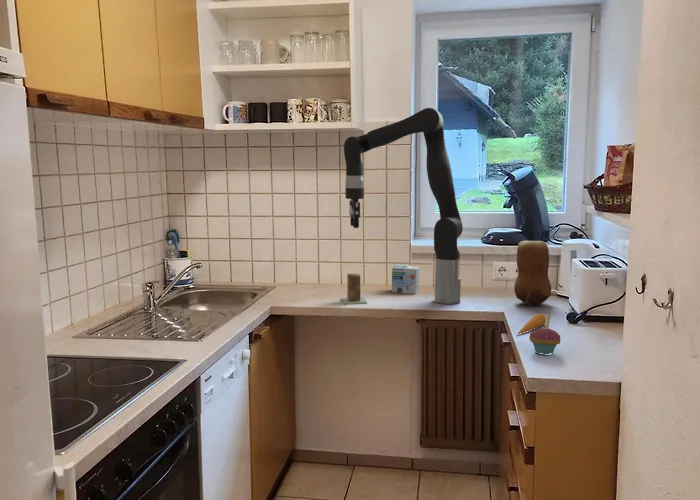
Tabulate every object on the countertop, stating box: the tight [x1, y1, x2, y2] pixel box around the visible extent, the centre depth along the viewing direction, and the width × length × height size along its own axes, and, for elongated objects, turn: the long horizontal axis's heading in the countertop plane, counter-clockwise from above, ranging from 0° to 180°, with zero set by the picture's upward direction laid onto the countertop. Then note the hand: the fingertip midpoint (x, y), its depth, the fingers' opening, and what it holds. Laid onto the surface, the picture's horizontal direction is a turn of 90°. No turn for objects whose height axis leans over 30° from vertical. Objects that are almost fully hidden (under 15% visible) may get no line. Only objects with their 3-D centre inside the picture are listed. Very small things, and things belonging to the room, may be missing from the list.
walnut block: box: [346, 273, 361, 301], centre depth 232 cm, size 4×4×10 cm
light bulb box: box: [391, 264, 420, 295], centre depth 250 cm, size 11×7×11 cm, turn 73°
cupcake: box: [529, 310, 561, 354], centre depth 169 cm, size 9×8×12 cm
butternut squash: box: [514, 240, 552, 306], centre depth 226 cm, size 14×13×25 cm
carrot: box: [517, 313, 547, 334], centre depth 193 cm, size 20×4×4 cm, turn 139°
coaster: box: [340, 296, 368, 305], centre depth 233 cm, size 9×9×1 cm
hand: (354, 226), depth 242 cm, fingers open, 8 cm apart
